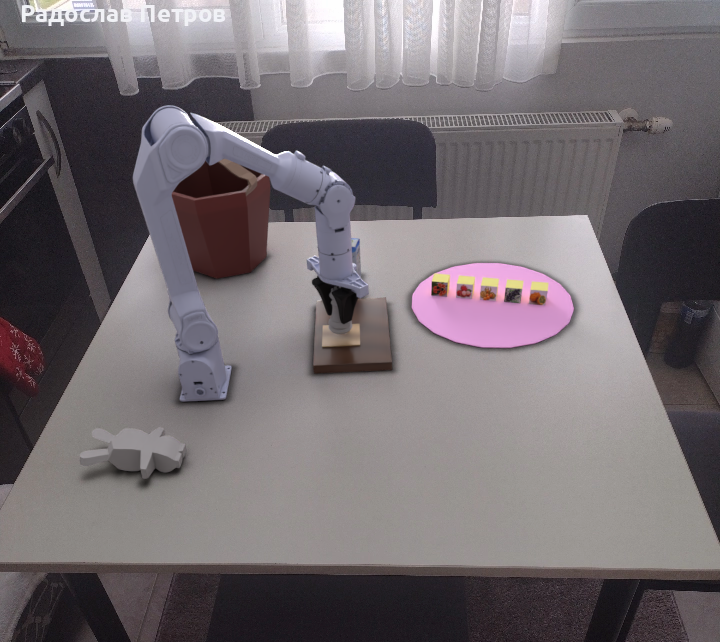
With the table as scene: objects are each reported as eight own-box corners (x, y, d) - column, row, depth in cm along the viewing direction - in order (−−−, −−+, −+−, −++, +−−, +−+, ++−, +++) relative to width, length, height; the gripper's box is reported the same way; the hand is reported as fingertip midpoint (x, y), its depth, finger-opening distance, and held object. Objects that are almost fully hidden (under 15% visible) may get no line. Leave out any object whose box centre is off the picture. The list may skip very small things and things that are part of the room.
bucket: (294, 269, 150) (279, 151, 133) (198, 298, 143) (170, 178, 125) (250, 227, 166) (232, 117, 148) (162, 252, 158) (132, 139, 141)
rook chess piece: (357, 325, 127) (355, 287, 121) (344, 337, 124) (341, 298, 119) (337, 319, 129) (334, 281, 123) (323, 331, 126) (320, 292, 120)
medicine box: (321, 284, 145) (317, 245, 139) (325, 273, 148) (322, 235, 142) (357, 285, 144) (355, 247, 138) (361, 275, 147) (359, 237, 141)
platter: (425, 258, 151) (426, 243, 149) (575, 269, 145) (578, 254, 142) (396, 339, 129) (396, 323, 127) (571, 356, 123) (575, 341, 120)
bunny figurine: (172, 466, 101) (71, 454, 101) (176, 489, 104) (78, 478, 105) (189, 424, 108) (94, 413, 108) (192, 447, 111) (101, 437, 111)
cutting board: (392, 370, 122) (391, 360, 121) (313, 373, 122) (312, 364, 121) (385, 292, 142) (384, 283, 140) (317, 295, 142) (316, 286, 140)
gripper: (381, 253, 113) (382, 324, 122) (326, 226, 121) (331, 294, 131) (348, 268, 110) (353, 340, 119) (294, 239, 118) (302, 308, 127)
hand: (339, 317), depth 125 cm, fingers closed on rook chess piece, 3 cm apart
